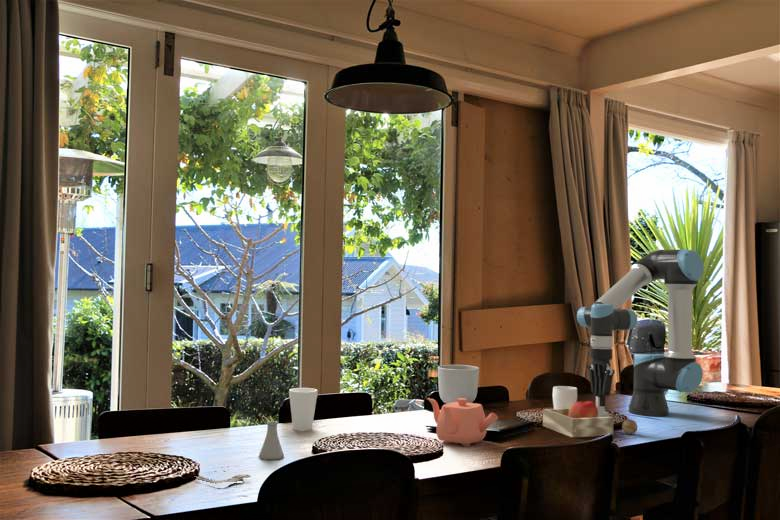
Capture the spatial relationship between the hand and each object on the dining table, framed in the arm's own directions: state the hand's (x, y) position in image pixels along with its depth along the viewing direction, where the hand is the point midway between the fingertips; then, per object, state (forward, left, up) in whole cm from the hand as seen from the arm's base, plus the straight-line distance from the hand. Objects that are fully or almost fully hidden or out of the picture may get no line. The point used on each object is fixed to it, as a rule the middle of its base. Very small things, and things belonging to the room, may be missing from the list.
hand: (600, 415), depth 269 cm
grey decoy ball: (-8, -9, -5) cm, 13 cm away
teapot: (+57, +8, -5) cm, 58 cm away
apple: (+6, -1, -5) cm, 8 cm away
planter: (+29, -57, -5) cm, 64 cm away
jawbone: (+136, +32, -6) cm, 140 cm away
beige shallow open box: (+9, 0, -5) cm, 10 cm away
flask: (+118, +14, -5) cm, 119 cm away
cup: (+3, -18, -5) cm, 19 cm away
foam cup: (+101, -23, -5) cm, 104 cm away
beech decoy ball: (-6, +9, -5) cm, 12 cm away
